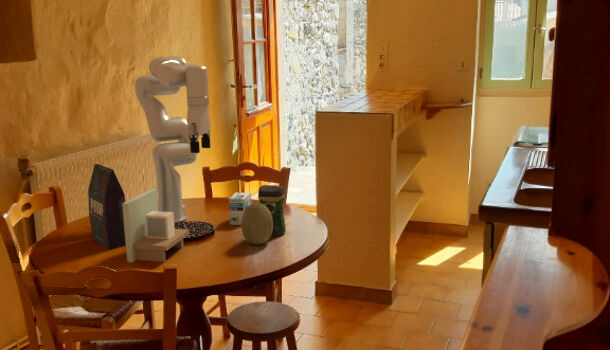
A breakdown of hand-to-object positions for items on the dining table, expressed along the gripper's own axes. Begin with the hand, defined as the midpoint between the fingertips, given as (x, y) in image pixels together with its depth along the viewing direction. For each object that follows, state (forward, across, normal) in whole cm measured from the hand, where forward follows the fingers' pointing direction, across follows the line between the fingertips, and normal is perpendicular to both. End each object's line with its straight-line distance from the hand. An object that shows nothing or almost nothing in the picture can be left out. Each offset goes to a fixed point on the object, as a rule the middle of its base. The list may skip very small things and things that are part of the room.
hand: (200, 150), depth 211 cm
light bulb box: (+34, -25, +5) cm, 42 cm away
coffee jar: (+34, -12, +22) cm, 42 cm away
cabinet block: (+27, +16, -10) cm, 33 cm away
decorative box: (+34, +8, -34) cm, 48 cm away
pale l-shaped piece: (+33, +16, -10) cm, 38 cm away
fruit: (+34, 0, +20) cm, 39 cm away
